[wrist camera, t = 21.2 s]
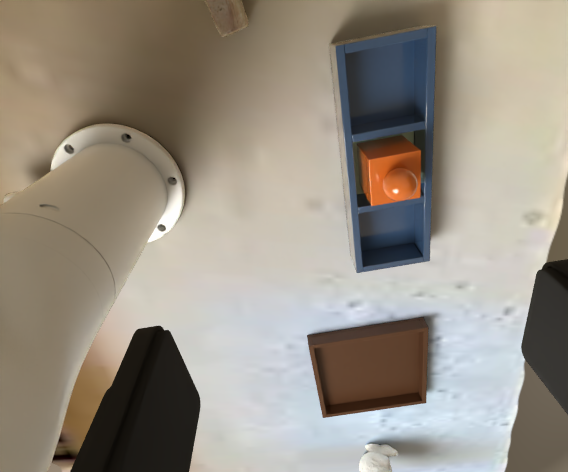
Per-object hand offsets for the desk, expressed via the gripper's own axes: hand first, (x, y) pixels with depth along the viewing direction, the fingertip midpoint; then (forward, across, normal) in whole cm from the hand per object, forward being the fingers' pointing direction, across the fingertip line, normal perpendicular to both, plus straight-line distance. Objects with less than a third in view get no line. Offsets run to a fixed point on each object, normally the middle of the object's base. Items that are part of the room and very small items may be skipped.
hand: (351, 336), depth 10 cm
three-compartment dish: (+28, -8, +6) cm, 30 cm away
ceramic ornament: (+28, -8, +6) cm, 29 cm away
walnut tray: (+28, -5, +36) cm, 46 cm away
